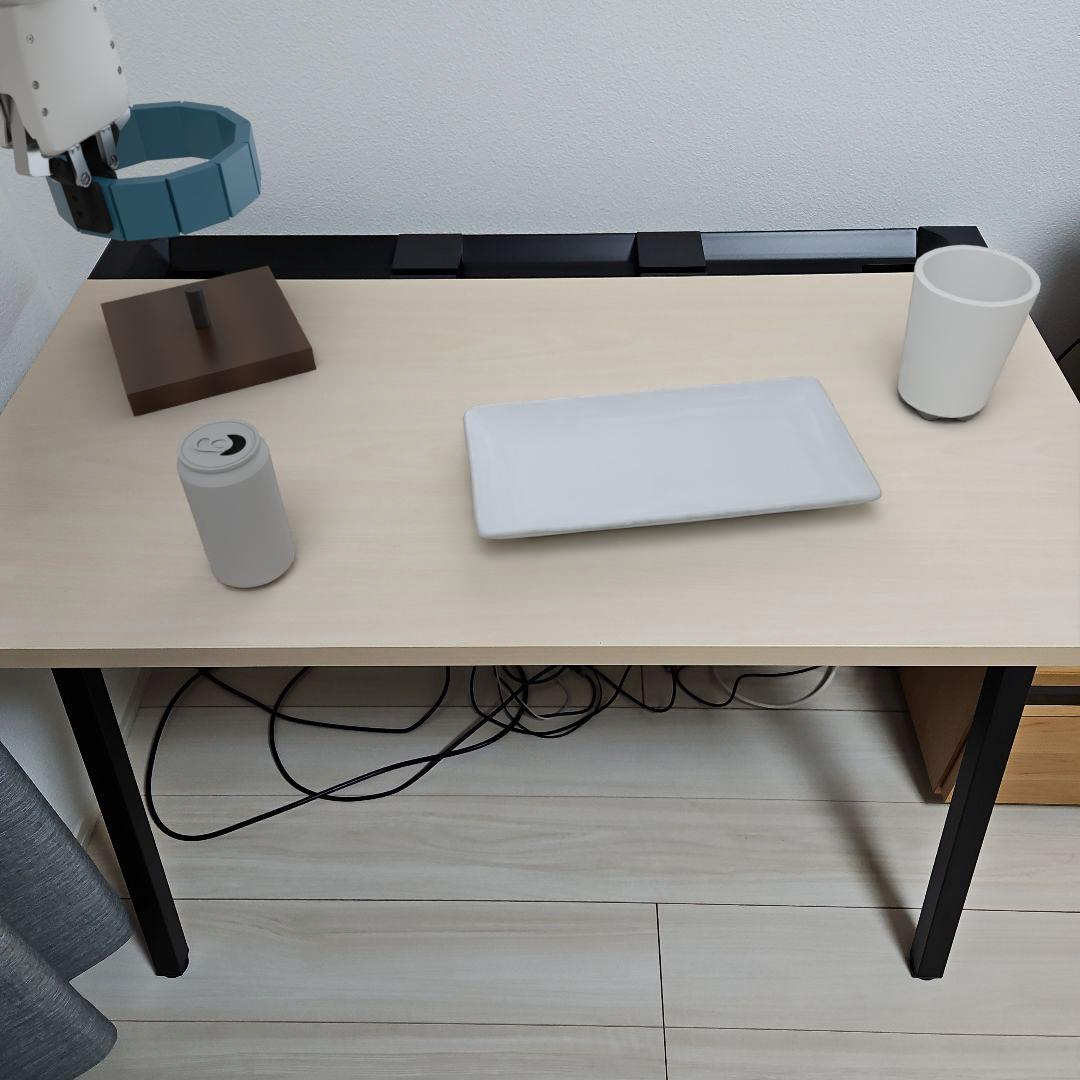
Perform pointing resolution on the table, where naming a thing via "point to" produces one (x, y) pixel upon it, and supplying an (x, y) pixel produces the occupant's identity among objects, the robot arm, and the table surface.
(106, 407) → the table surface
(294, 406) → the table surface
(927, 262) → the cup
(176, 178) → the ring
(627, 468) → the tray
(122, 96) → the robot arm
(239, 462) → the beverage can
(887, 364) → the table surface
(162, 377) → the platform
